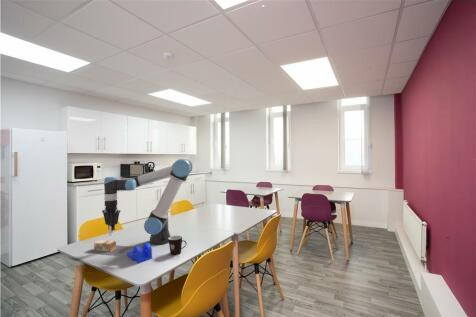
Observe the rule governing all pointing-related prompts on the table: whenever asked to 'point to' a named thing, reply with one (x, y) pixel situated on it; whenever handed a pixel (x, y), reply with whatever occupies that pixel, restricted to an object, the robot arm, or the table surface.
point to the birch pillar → (105, 245)
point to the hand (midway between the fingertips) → (111, 235)
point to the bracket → (141, 253)
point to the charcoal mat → (113, 253)
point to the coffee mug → (175, 244)
